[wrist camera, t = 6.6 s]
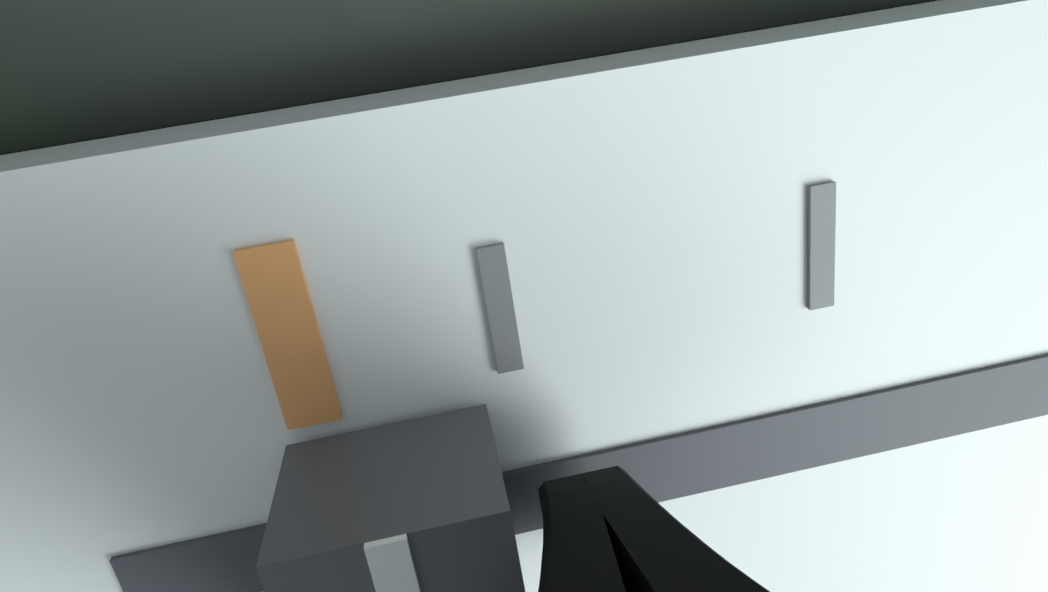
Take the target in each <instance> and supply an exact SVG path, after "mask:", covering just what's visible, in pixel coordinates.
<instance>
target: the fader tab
mask: <svg viewBox="0 0 1048 592" xmlns="http://www.w3.org/2000/svg"><path fill="white" fill-rule="evenodd" d="M256 569H257V572H258V574H259V577H260V580H261V583H262V586H263V588H264V591H265V592H525V587H524V581H523V576H522V570H521V565H520V559H519V554H518V549H517V543H516V538H515V532H514V527H513V521H512V516H511V510H510V506H509V502H508V497H507V493H506V489H505V484H504V480H503V476H502V471H501V467H500V463H499V458H498V454H497V449H496V445H495V441H494V436H493V432H492V428H491V423H490V419H489V415H488V410H487V406H486V404H482V405H478V406H473V407H468V408H463V409H458V410H453V411H449V412H444V413H439V414H434V415H429V416H425V417H420V418H415V419H410V420H405V421H400V422H396V423H391V424H386V425H381V426H376V427H372V428H367V429H362V430H357V431H352V432H347V433H343V434H338V435H333V436H328V437H323V438H319V439H314V440H309V441H304V442H299V443H295V444H290V445H286V447H285V451H284V455H283V460H282V464H281V468H280V472H279V476H278V480H277V484H276V488H275V492H274V496H273V500H272V504H271V508H270V512H269V516H268V520H267V524H266V528H265V532H264V536H263V540H262V545H261V549H260V553H259V557H258V561H257V565H256Z"/></svg>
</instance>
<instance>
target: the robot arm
mask: <svg viewBox="0 0 1048 592" xmlns="http://www.w3.org/2000/svg"><path fill="white" fill-rule="evenodd" d="M538 493H539V499H540V505H541V511H542V518H543V549H542V560H541V572H540V582H539V589H538V592H770V591H769V590H767V589H766V588H764V587H763V586H761V585H760V584H758V583H757V582H756V581H754V580H753V579H751V578H750V577H749V576H747V575H746V574H745V573H743V572H742V571H740V570H739V569H738V568H736V567H735V566H734V565H732V564H731V563H730V562H728V561H727V560H726V559H724V558H723V557H722V556H721V555H719V554H718V553H717V552H715V551H714V550H713V549H712V548H710V547H709V546H708V545H707V544H705V543H704V542H703V541H702V540H701V539H699V538H698V537H697V536H696V535H695V534H693V533H692V532H691V531H690V530H689V529H687V528H686V527H685V526H684V525H683V524H681V523H680V522H679V521H678V520H677V519H676V518H674V517H673V516H672V515H671V514H670V513H669V512H668V511H667V510H666V509H664V508H663V507H662V506H661V505H660V504H659V503H658V502H657V501H656V500H655V499H653V498H652V497H651V496H650V495H649V494H648V493H647V492H646V491H645V490H644V489H643V488H642V487H641V486H640V485H639V484H638V483H637V482H636V481H635V480H634V479H633V478H632V477H631V476H630V475H629V474H628V473H627V472H626V471H625V470H623V469H622V468H620V467H619V466H613V467H609V468H604V469H599V470H595V471H590V472H586V473H581V474H576V475H572V476H567V477H563V478H558V479H553V480H549V481H544V483H543V484H542V485H541V486H540V487H539V489H538Z"/></svg>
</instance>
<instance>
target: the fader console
mask: <svg viewBox="0 0 1048 592" xmlns="http://www.w3.org/2000/svg"><path fill="white" fill-rule="evenodd" d="M482 404H486V406H487V410H488V415H489V419H490V423H491V428H492V432H493V436H494V441H495V445H496V449H497V454H498V458H499V463H500V467H501V471H502V476H503V480H504V484H505V489H506V493H507V497H508V502H509V506H510V510H511V516H512V521H513V527H514V532H515V538H516V543H517V549H518V554H519V559H520V565H521V570H522V576H523V581H524V587H525V592H538V589H539V582H540V572H541V560H542V549H543V518H542V511H541V505H540V499H539V493H538V489H539V487H540V486H541V485H542V484H543V483H544V481H549V480H553V479H558V478H563V477H567V476H572V475H576V474H581V473H586V472H590V471H595V470H599V469H604V468H609V467H613V466H619V467H620V468H622V469H623V470H625V471H626V472H627V473H628V474H629V475H630V476H631V477H632V478H633V479H634V480H635V481H636V482H637V483H638V484H639V485H640V486H641V487H642V488H643V489H644V490H645V491H646V492H647V493H648V494H649V495H650V496H651V497H652V498H653V499H655V500H656V501H657V502H658V503H659V504H660V505H661V506H662V507H663V508H664V509H666V510H667V511H668V512H669V513H670V514H671V515H672V516H673V517H674V518H676V519H677V520H678V521H679V522H680V523H681V524H683V525H684V526H685V527H686V528H687V529H689V530H690V531H691V532H692V533H693V534H695V535H696V536H697V537H698V538H699V539H701V540H702V541H703V542H704V543H705V544H707V545H708V546H709V547H710V548H712V549H713V550H714V551H715V552H717V553H718V554H719V555H721V556H722V557H723V558H724V559H726V560H727V561H728V562H730V563H731V564H732V565H734V566H735V567H736V568H738V569H739V570H740V571H742V572H743V573H745V574H746V575H747V576H749V577H750V578H751V579H753V580H754V581H756V582H757V583H758V584H760V585H761V586H763V587H764V588H766V589H767V590H769V591H770V592H1048V0H938V1H932V2H926V3H920V4H914V5H908V6H902V7H896V8H890V9H884V10H878V11H872V12H866V13H860V14H854V15H848V16H842V17H835V18H829V19H823V20H817V21H811V22H805V23H799V24H793V25H787V26H781V27H775V28H769V29H763V30H757V31H751V32H745V33H739V34H732V35H726V36H720V37H714V38H708V39H702V40H696V41H690V42H684V43H678V44H672V45H666V46H660V47H654V48H648V49H642V50H635V51H629V52H623V53H617V54H611V55H605V56H599V57H593V58H587V59H581V60H575V61H569V62H563V63H557V64H551V65H545V66H539V67H532V68H526V69H520V70H514V71H508V72H502V73H496V74H490V75H484V76H478V77H472V78H466V79H460V80H454V81H448V82H442V83H435V84H429V85H423V86H417V87H411V88H405V89H399V90H393V91H387V92H381V93H375V94H369V95H363V96H357V97H351V98H345V99H339V100H332V101H326V102H320V103H314V104H308V105H302V106H296V107H290V108H284V109H278V110H272V111H266V112H260V113H254V114H248V115H242V116H236V117H229V118H223V119H217V120H211V121H205V122H199V123H193V124H187V125H181V126H175V127H169V128H163V129H157V130H151V131H145V132H139V133H132V134H126V135H120V136H114V137H108V138H102V139H96V140H90V141H84V142H78V143H72V144H66V145H60V146H54V147H48V148H42V149H36V150H29V151H23V152H17V153H11V154H5V155H0V592H265V591H264V588H263V586H262V583H261V580H260V577H259V574H258V572H257V569H256V565H257V561H258V557H259V553H260V549H261V545H262V540H263V536H264V532H265V528H266V524H267V520H268V516H269V512H270V508H271V504H272V500H273V496H274V492H275V488H276V484H277V480H278V476H279V472H280V468H281V464H282V460H283V455H284V451H285V447H286V445H290V444H295V443H299V442H304V441H309V440H314V439H319V438H323V437H328V436H333V435H338V434H343V433H347V432H352V431H357V430H362V429H367V428H372V427H376V426H381V425H386V424H391V423H396V422H400V421H405V420H410V419H415V418H420V417H425V416H429V415H434V414H439V413H444V412H449V411H453V410H458V409H463V408H468V407H473V406H478V405H482Z"/></svg>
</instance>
